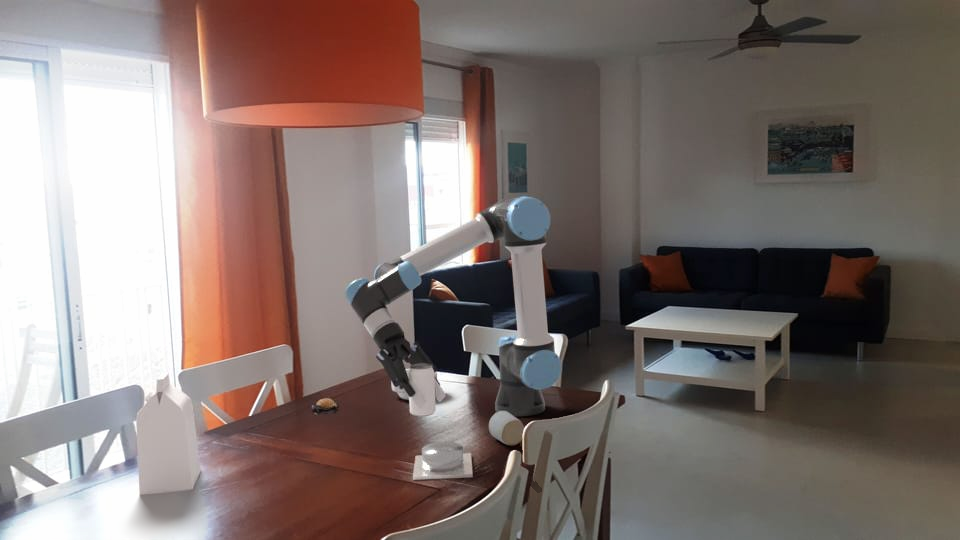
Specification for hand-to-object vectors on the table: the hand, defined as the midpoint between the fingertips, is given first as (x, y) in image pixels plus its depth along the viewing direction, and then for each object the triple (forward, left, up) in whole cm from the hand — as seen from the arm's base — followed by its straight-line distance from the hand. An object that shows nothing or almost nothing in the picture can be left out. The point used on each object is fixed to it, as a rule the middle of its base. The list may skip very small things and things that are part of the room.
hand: (432, 401), depth 184 cm
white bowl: (+8, -61, -16) cm, 63 cm away
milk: (+63, +5, -15) cm, 65 cm away
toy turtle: (+36, -51, -16) cm, 64 cm away
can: (+3, -2, -4) cm, 5 cm away
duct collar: (-2, +4, -15) cm, 16 cm away
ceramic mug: (-20, -13, -16) cm, 28 cm away
